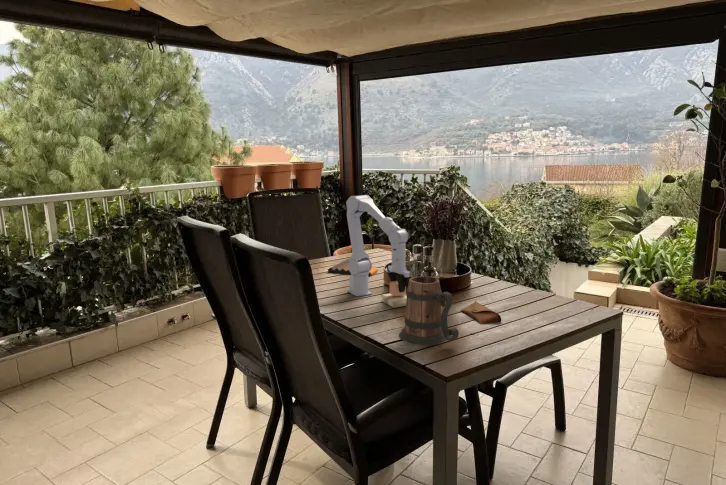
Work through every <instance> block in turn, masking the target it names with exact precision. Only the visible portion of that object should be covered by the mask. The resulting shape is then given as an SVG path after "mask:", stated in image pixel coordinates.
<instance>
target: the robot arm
mask: <svg viewBox="0 0 726 485" xmlns="http://www.w3.org/2000/svg"><path fill="white" fill-rule="evenodd" d="M345 203H346V219H347V226H348V231H349V239H350V245H351V252H352V254H351V256H350V257H349V258H348V259H349V271H350V273H351V275H349V278H348V279H349V280H348V281H349V283H348V284H349V289H348V290H347V293H350V294H352V295H353V296H355V297H360V296H368V295H372V294H373V293H372V292H371V291H369V276H368V274H369V271H370V270H371V268H372V267H373V263H372V261H371V259H370V255H369V254H368V253H366V252H365V245H364V239H363V232H362V225H361V219H360V217H361V215H362V214H363V213H365V212H366V213H368V215H370V216H371V217H372V218H373V219H374V220H376V221H377V222H378V226H379V228H380V230H382V231H383V233H385V234H386V236H387V237H388V241H389V243H390V248H391V264H390V265H388V266H387V271H389V272H387V276H388V277H389V280H390V282H392V281H398V287H399V292H404V291H405V287H406V288H407V284H408V282H409V279H410V277H411V275H410V274H411V273H410V271H408V270H407V269H406V258H407V257H406V255H407V254H406V246H407V245H406V243H407V242H408V240H409V237H410V236H409V233H408V231H407V230H406V229H404V228H401V227H400V226H399V225H397V224H396V223H395V222H394V219H393V218H392V217H389V216H385V215H384V214H383V212H382V211H381V210H380V209H379V208H378V207H377V206H376V204H375V203H374V199H373V198H371V197H370V195H368V194H364V195H363V194H362V195H350V197H348V199H347V200H346V202H345Z"/></svg>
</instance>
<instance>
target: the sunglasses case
mask: <svg viewBox="0 0 726 485" xmlns="http://www.w3.org/2000/svg"><path fill="white" fill-rule="evenodd" d="M459 312H460V313H464V314H465V315H467V316H468V317H470V318H472V319H473V320H475V322H478V324H480V325H491V324H499V323H500V324H501V322H502V317H501V315H500V314H499V313H497V312H496V311H493V310H491V309H490V308H488V307H486V306H485V305H483V304H481V303H480V302H477V300H476V301H474V302H472V303H471V304H469V305H467V306H465V307H464V308H462V309H460V310H459Z"/></svg>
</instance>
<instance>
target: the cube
mask: <svg viewBox="0 0 726 485" xmlns="http://www.w3.org/2000/svg"><path fill="white" fill-rule="evenodd" d="M406 290H407V286H406V287H405V291H404V292H399V287H398V281H392V282H391V281H389V293H390V294H392V295H394V296H401V295H406Z"/></svg>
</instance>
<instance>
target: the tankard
mask: <svg viewBox="0 0 726 485" xmlns="http://www.w3.org/2000/svg"><path fill="white" fill-rule="evenodd" d="M407 284H408V285H407V287H406V296H407V300H406V306H405V316H404V327H403V328H402V330H401V331H400V332H399V333H398V338H399V339H400V340H401V341H403V342H406V343H408V344H412V345H419V346H432V345H433V346H434V345H439V344H442V343H445V342H446V341H448V342H449V341H450V342H451V341H455V340H457V339H458V338H459V334H460V333H459V330H458V329H457V327H451V328H449V327H448V315H449V311H450V309H451V307H452V305H453V301H454V299H453V296H452V293H450V292H448V291H444V292H442V288H441V284H440V279H439V278H437V277H435V276H413V277H411V278H409V280H408V282H407ZM441 306H442V307H444V308H443V309H442V308H441Z"/></svg>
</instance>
